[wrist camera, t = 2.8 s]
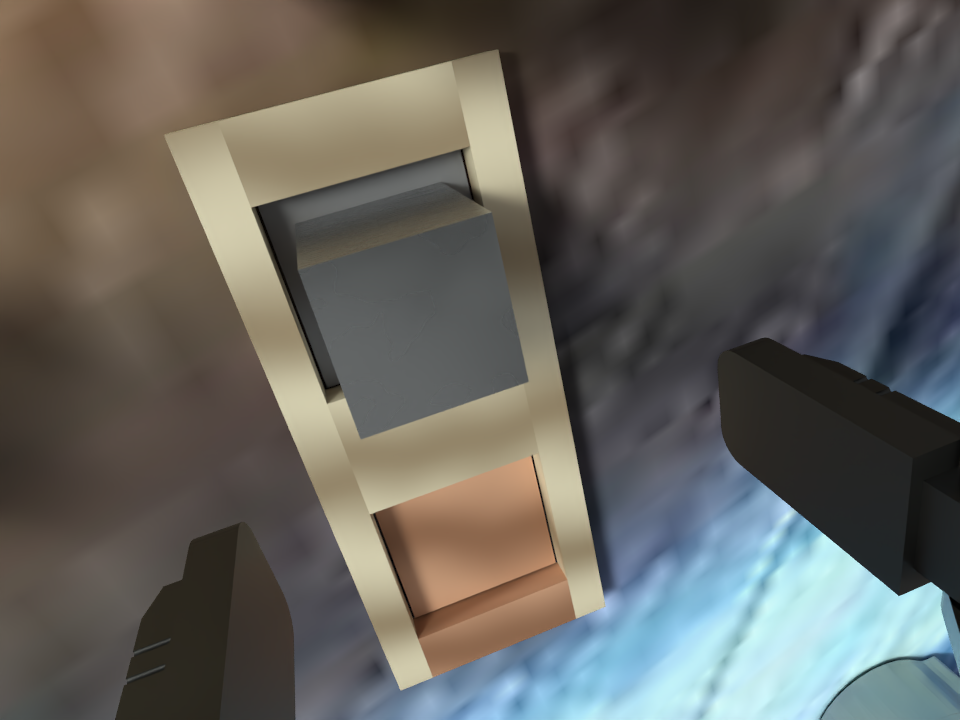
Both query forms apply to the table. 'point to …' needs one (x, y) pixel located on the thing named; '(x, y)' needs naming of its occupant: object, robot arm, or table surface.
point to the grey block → (411, 305)
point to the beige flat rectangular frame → (434, 439)
